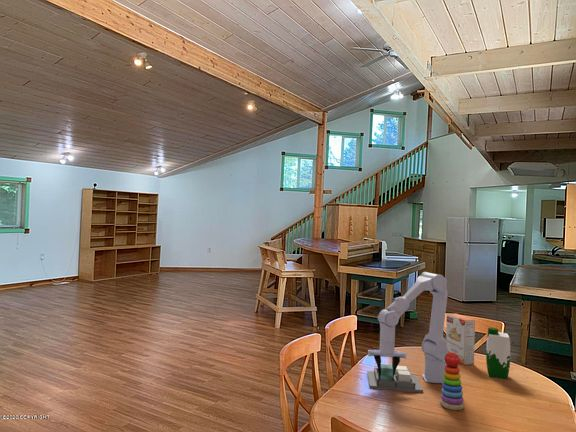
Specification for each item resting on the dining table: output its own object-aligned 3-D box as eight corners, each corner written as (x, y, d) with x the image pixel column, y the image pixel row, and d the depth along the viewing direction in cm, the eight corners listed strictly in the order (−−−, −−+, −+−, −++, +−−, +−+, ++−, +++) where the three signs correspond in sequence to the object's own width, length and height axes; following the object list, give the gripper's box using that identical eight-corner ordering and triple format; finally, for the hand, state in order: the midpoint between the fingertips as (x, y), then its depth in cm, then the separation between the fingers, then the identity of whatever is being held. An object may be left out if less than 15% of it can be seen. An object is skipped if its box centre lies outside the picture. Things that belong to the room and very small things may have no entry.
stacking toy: (463, 403, 149) (464, 351, 150) (464, 413, 142) (466, 358, 142) (439, 399, 152) (441, 348, 152) (440, 408, 144) (441, 354, 145)
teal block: (391, 377, 166) (391, 365, 166) (392, 381, 161) (393, 368, 161) (379, 376, 166) (380, 364, 166) (380, 380, 162) (381, 368, 162)
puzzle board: (415, 377, 174) (416, 364, 174) (423, 392, 158) (423, 378, 158) (367, 373, 176) (367, 360, 176) (369, 388, 160) (370, 373, 160)
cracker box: (444, 355, 204) (446, 313, 205) (455, 355, 206) (456, 313, 206) (463, 365, 191) (464, 320, 191) (474, 364, 192) (475, 319, 192)
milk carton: (485, 370, 185) (486, 325, 185) (508, 374, 181) (509, 328, 182) (486, 377, 177) (487, 330, 177) (510, 381, 173) (511, 333, 173)
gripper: (369, 342, 161) (368, 377, 161) (407, 344, 159) (406, 380, 159) (368, 337, 168) (367, 370, 168) (404, 339, 166) (403, 373, 166)
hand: (386, 375), depth 164 cm, fingers closed on teal block, 4 cm apart
